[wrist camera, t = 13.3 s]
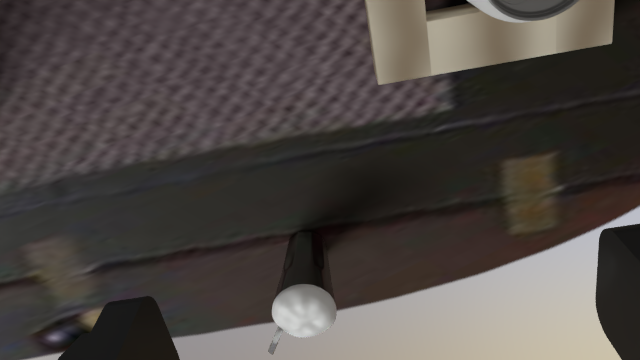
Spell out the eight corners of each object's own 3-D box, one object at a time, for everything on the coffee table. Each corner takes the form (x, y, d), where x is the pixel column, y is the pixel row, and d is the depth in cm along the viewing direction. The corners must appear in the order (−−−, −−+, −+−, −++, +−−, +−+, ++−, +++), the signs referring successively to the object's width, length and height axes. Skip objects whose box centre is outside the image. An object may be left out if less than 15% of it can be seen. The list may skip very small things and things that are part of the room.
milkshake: (261, 249, 46) (247, 334, 37) (309, 213, 44) (306, 293, 35) (297, 282, 47) (291, 371, 38) (344, 248, 46) (350, 333, 37)
